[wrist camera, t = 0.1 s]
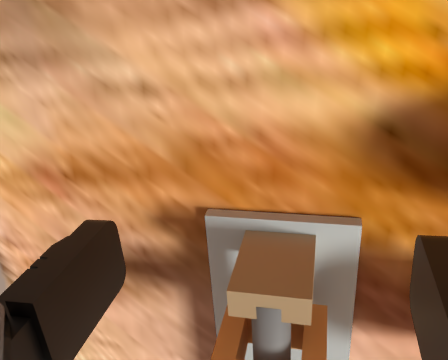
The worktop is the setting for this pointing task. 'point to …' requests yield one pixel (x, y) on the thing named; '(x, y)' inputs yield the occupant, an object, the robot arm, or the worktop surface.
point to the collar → (300, 336)
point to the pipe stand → (284, 276)
